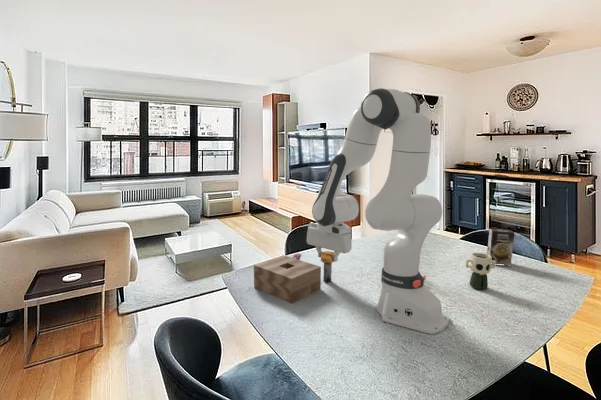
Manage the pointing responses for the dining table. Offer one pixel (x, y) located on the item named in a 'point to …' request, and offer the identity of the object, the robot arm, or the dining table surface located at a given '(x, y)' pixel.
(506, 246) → the coffee box
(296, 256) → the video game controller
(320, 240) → the robot arm
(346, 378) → the dining table surface
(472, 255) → the character mug
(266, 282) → the walnut block
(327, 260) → the steel pin
